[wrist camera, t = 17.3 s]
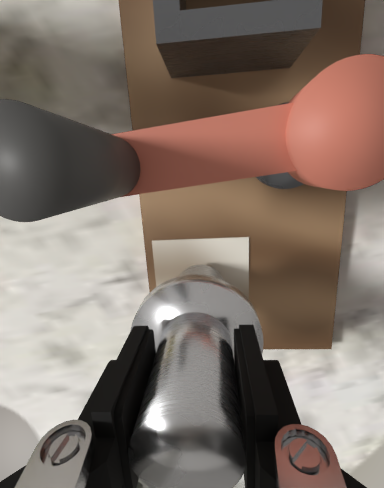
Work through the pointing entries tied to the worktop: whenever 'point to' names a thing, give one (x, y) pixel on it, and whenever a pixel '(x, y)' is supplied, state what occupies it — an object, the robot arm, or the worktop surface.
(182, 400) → the peg
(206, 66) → the block
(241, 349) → the robot arm
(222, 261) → the board
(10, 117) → the lever
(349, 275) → the worktop surface
